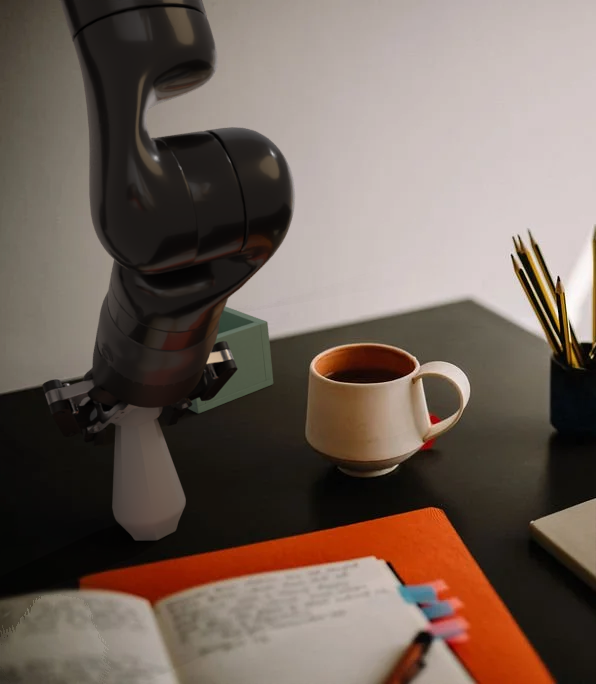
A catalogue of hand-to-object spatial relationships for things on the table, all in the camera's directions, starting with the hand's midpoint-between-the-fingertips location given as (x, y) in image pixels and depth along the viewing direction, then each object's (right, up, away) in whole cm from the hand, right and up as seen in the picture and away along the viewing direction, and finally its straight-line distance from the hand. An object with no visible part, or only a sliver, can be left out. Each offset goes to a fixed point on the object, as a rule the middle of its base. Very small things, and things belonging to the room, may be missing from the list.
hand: (131, 424), depth 76 cm
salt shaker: (+1, -9, +2) cm, 10 cm away
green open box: (-3, +2, +29) cm, 29 cm away
